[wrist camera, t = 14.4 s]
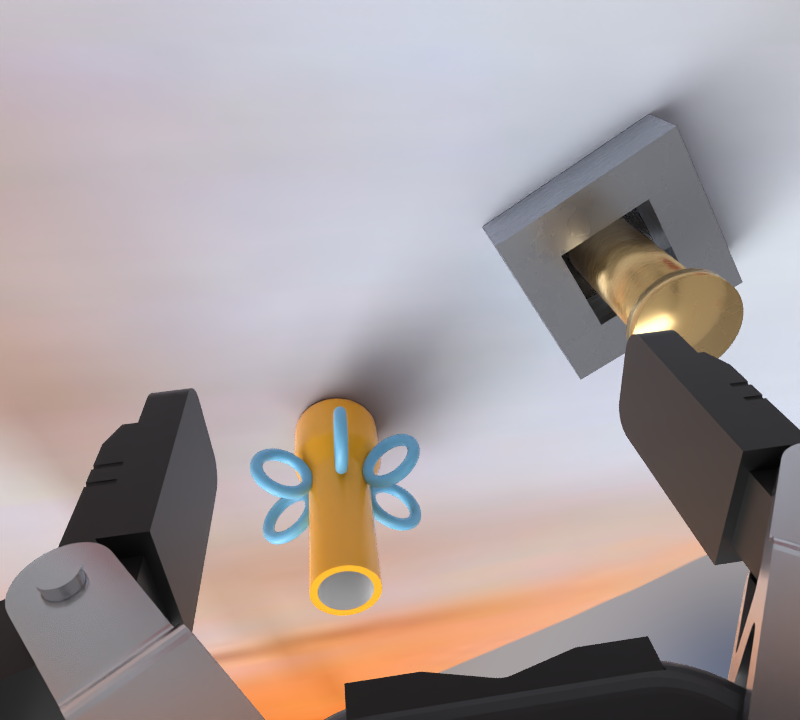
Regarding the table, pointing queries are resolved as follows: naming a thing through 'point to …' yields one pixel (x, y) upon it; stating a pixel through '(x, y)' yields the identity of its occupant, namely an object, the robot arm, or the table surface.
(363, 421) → the tube with loops
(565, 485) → the table surface
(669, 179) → the jig
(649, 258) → the gold capped peg
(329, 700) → the table surface
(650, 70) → the table surface
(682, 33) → the table surface
